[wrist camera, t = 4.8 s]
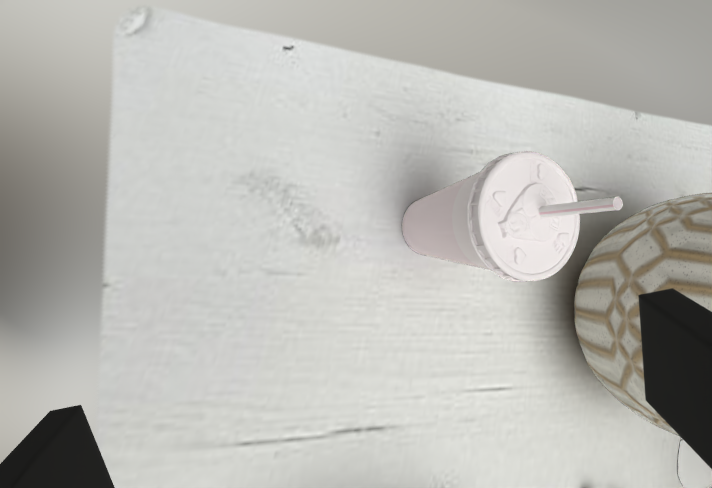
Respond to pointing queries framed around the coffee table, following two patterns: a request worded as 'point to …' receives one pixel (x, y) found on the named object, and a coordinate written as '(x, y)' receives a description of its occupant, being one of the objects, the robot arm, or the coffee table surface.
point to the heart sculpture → (692, 468)
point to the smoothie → (504, 218)
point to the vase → (640, 289)
